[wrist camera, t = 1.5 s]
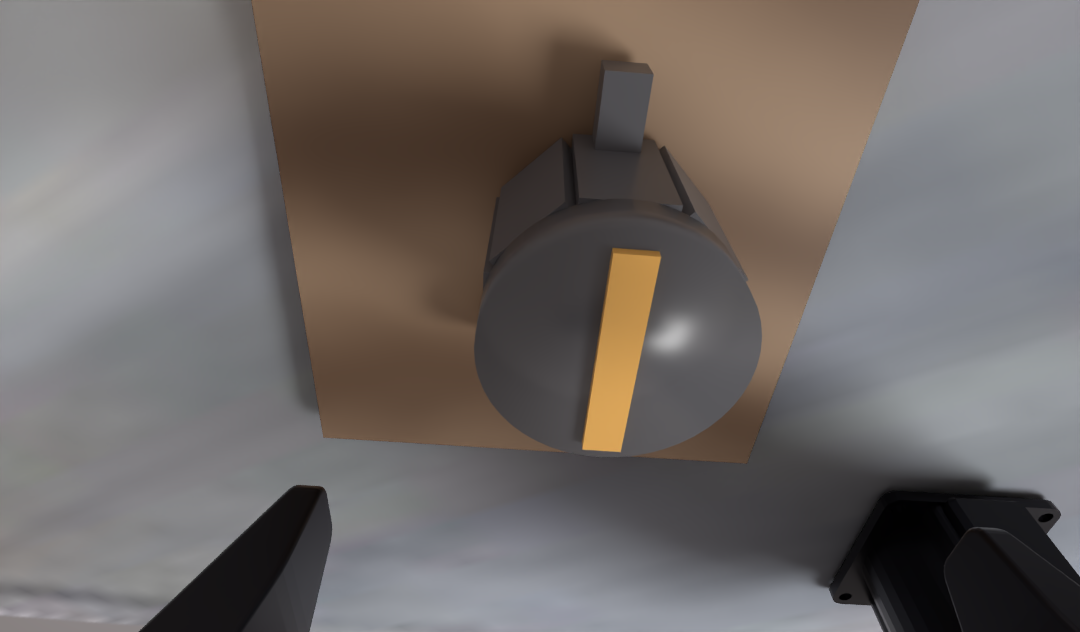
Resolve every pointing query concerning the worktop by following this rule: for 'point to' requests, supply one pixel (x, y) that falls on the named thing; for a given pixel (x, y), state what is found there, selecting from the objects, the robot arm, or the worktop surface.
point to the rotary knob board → (517, 140)
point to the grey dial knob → (612, 292)
